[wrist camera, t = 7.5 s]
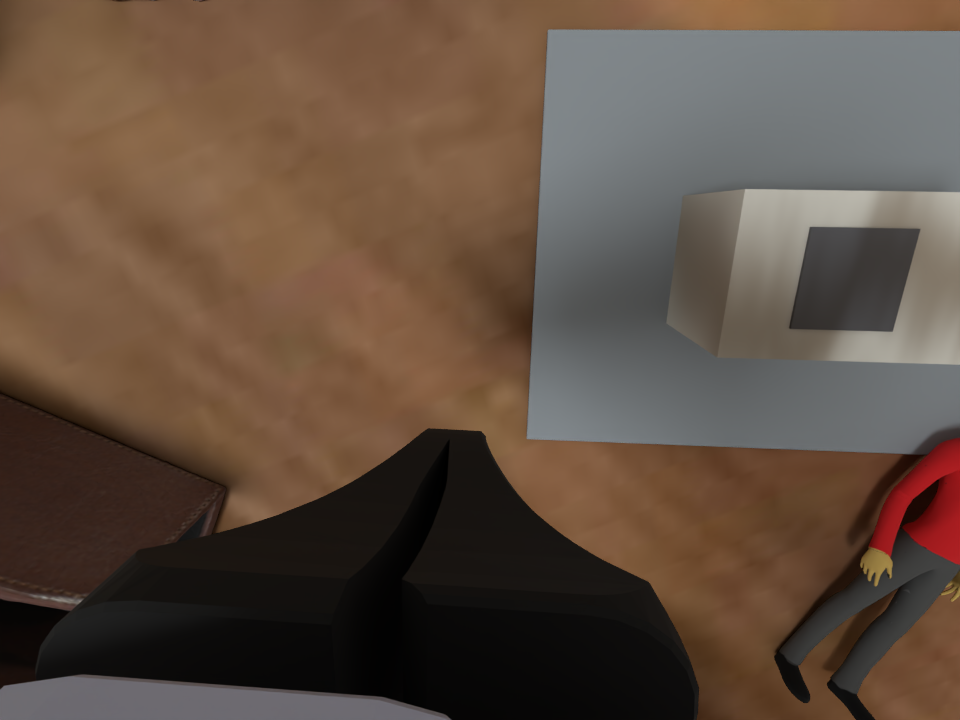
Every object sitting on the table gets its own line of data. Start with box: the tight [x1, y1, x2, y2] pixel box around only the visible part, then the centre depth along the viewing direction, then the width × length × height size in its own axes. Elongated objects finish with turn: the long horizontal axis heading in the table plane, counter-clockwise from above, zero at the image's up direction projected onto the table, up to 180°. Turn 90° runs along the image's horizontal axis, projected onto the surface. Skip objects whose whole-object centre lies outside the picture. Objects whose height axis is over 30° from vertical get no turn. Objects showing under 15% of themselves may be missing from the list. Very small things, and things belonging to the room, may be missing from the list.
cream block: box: [666, 189, 960, 365], centre depth 17 cm, size 5×5×8 cm
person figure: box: [774, 438, 960, 720], centre depth 20 cm, size 5×4×18 cm
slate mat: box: [527, 30, 960, 455], centre depth 19 cm, size 16×20×1 cm
